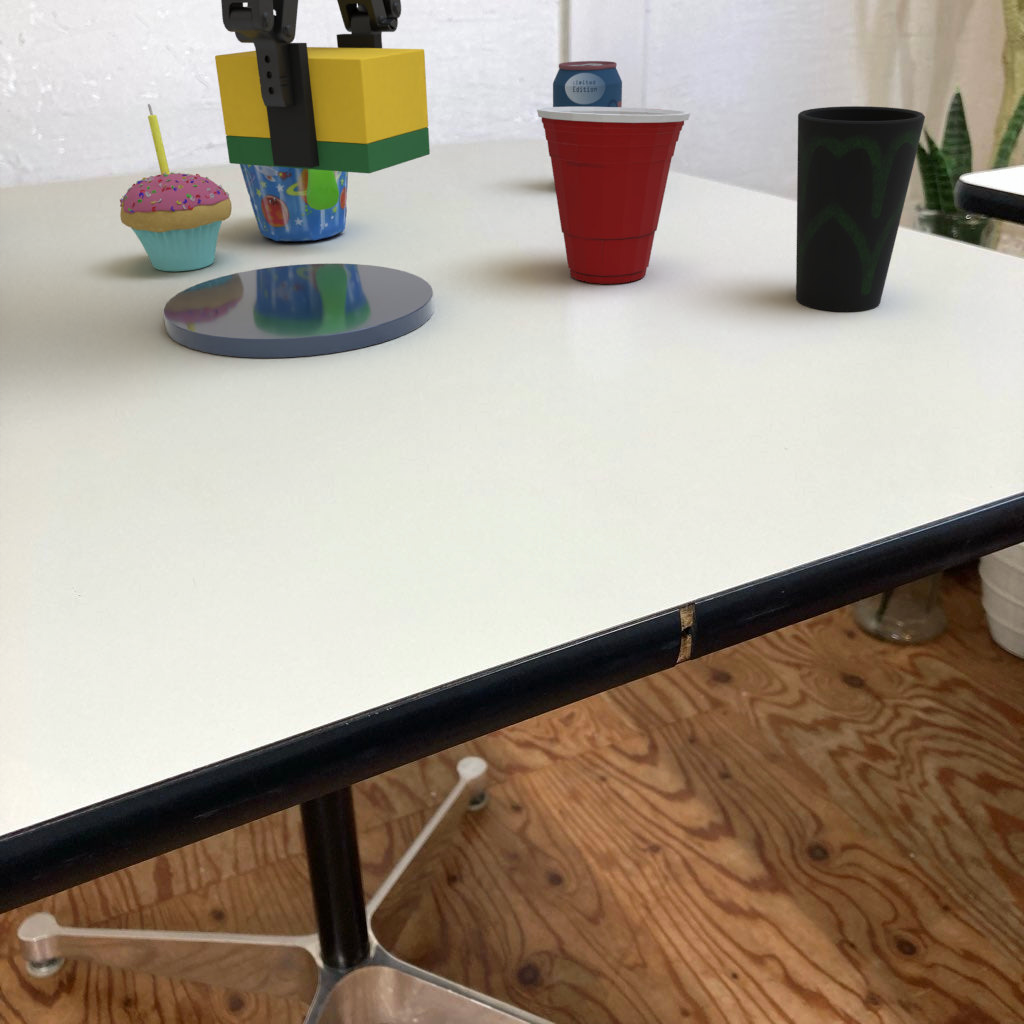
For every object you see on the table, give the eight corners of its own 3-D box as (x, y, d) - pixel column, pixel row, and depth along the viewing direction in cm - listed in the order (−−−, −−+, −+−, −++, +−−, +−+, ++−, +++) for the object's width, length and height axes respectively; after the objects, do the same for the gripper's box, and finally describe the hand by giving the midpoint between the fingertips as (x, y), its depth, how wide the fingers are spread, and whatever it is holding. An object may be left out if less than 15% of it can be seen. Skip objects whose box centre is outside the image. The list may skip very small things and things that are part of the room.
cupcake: (114, 264, 85) (82, 106, 79) (211, 246, 89) (188, 96, 84) (157, 284, 79) (126, 116, 73) (258, 264, 84) (237, 105, 78)
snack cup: (232, 223, 98) (215, 107, 93) (343, 212, 101) (332, 99, 96) (255, 261, 84) (236, 129, 80) (382, 247, 88) (371, 119, 83)
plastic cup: (705, 266, 80) (716, 99, 74) (638, 301, 72) (645, 117, 66) (584, 250, 85) (585, 93, 80) (509, 281, 77) (505, 109, 72)
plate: (106, 338, 68) (102, 320, 67) (274, 270, 82) (272, 254, 81) (340, 373, 61) (338, 353, 60) (478, 292, 75) (478, 276, 74)
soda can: (600, 196, 104) (602, 67, 99) (541, 191, 108) (539, 65, 102) (631, 184, 110) (634, 61, 104) (573, 179, 113) (573, 59, 107)
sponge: (229, 163, 63) (214, 55, 60) (297, 146, 68) (286, 46, 66) (369, 173, 59) (360, 58, 56) (430, 154, 65) (424, 49, 62)
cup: (763, 305, 70) (780, 118, 65) (802, 279, 76) (821, 104, 70) (877, 323, 67) (906, 124, 61) (910, 293, 72) (939, 109, 67)
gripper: (217, -377, 44) (286, 188, 54) (445, -290, 59) (464, 134, 70) (83, -351, 46) (174, 180, 57) (335, -275, 62) (369, 130, 73)
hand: (333, 154), depth 64 cm, fingers closed on sponge, 7 cm apart
